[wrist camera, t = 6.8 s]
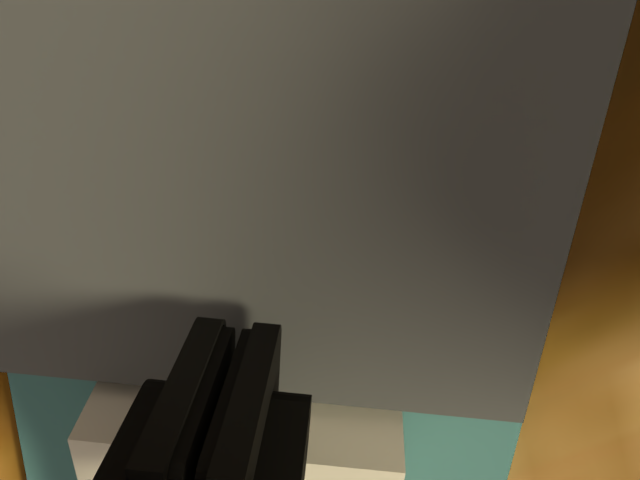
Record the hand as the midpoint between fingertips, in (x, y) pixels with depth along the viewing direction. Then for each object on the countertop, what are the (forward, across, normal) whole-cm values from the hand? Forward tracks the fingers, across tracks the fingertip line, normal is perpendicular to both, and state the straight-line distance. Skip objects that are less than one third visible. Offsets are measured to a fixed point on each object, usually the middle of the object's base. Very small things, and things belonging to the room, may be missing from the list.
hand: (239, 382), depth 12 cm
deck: (+4, 0, -7) cm, 8 cm away
